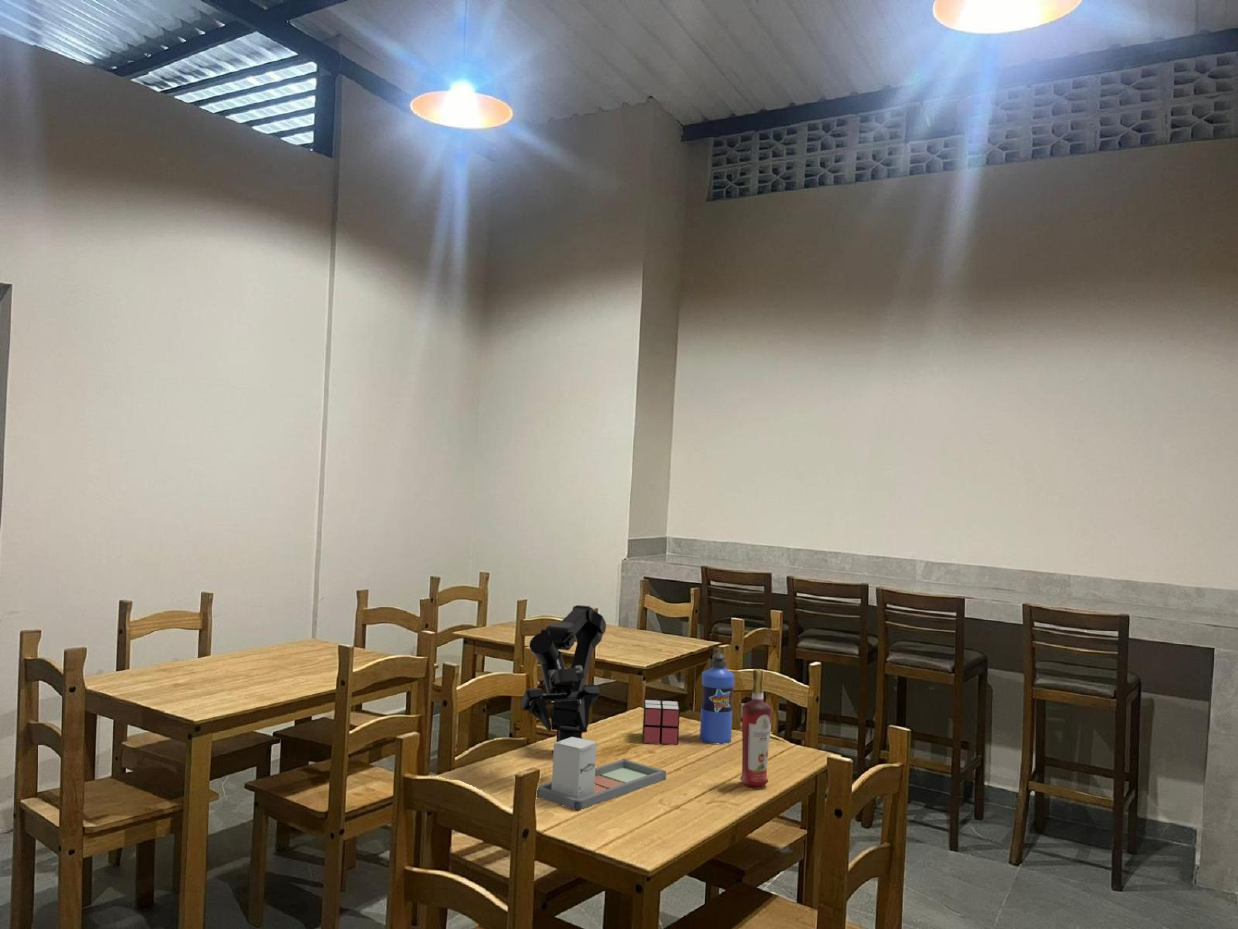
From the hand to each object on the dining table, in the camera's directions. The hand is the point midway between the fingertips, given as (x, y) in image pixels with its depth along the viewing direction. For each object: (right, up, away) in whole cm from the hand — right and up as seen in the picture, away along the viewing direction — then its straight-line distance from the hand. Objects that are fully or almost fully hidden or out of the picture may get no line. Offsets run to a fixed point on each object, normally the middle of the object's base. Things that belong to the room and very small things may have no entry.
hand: (568, 729), depth 213 cm
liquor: (+45, -16, +7) cm, 48 cm away
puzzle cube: (+24, -16, +44) cm, 53 cm away
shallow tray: (+8, -14, 0) cm, 16 cm away
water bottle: (+40, -17, +47) cm, 64 cm away
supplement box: (+1, -14, -8) cm, 16 cm away
